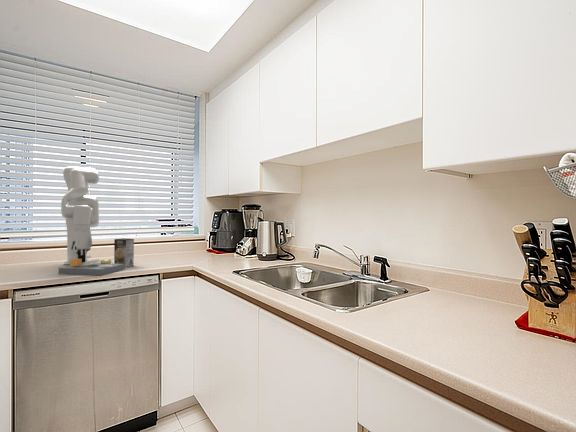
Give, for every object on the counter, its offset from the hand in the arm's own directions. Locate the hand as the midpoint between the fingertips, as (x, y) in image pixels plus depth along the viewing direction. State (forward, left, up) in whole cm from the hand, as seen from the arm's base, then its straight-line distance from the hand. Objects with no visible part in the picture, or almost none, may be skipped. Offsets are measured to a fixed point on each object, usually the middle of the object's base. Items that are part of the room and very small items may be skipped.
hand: (81, 262), depth 166 cm
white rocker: (0, +7, 0) cm, 7 cm away
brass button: (0, +15, 0) cm, 15 cm away
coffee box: (-20, +10, -5) cm, 23 cm away
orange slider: (+3, 0, -2) cm, 4 cm away
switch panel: (0, +7, -5) cm, 9 cm away
